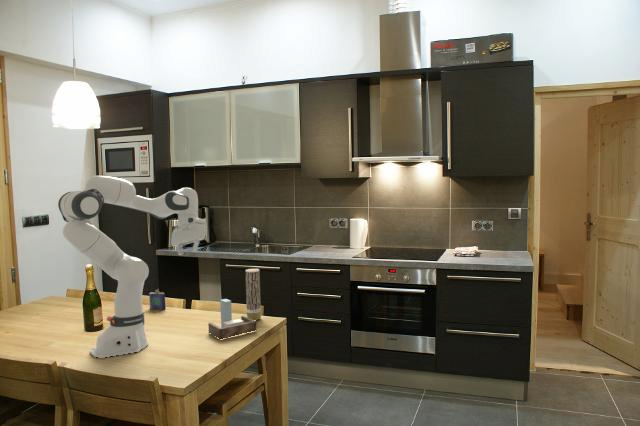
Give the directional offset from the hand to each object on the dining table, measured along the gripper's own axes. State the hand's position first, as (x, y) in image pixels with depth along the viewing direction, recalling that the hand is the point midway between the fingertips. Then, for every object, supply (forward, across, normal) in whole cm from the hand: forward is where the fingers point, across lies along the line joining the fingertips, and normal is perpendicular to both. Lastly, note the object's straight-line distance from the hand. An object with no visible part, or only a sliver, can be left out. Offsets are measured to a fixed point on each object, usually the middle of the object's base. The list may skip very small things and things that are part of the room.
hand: (187, 252), depth 223 cm
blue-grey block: (+34, -1, +24) cm, 41 cm away
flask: (+18, -58, +26) cm, 66 cm away
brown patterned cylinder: (+28, -1, +42) cm, 51 cm away
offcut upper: (+33, +7, +21) cm, 40 cm away
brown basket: (+35, +5, +22) cm, 42 cm away
